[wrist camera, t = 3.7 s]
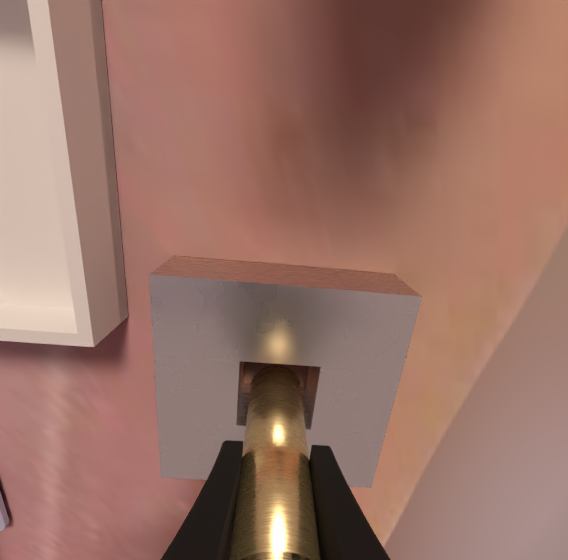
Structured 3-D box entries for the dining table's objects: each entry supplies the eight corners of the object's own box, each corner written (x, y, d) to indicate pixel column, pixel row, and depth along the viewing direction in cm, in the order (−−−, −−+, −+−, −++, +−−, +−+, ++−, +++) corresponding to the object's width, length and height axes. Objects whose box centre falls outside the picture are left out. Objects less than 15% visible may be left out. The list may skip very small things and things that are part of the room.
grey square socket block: (356, 440, 18) (371, 487, 15) (179, 430, 18) (160, 477, 15) (394, 274, 15) (422, 296, 12) (174, 255, 14) (149, 274, 11)
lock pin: (297, 408, 14) (320, 657, 7) (249, 405, 14) (219, 655, 7) (303, 368, 14) (335, 598, 6) (252, 364, 14) (221, 595, 6)
